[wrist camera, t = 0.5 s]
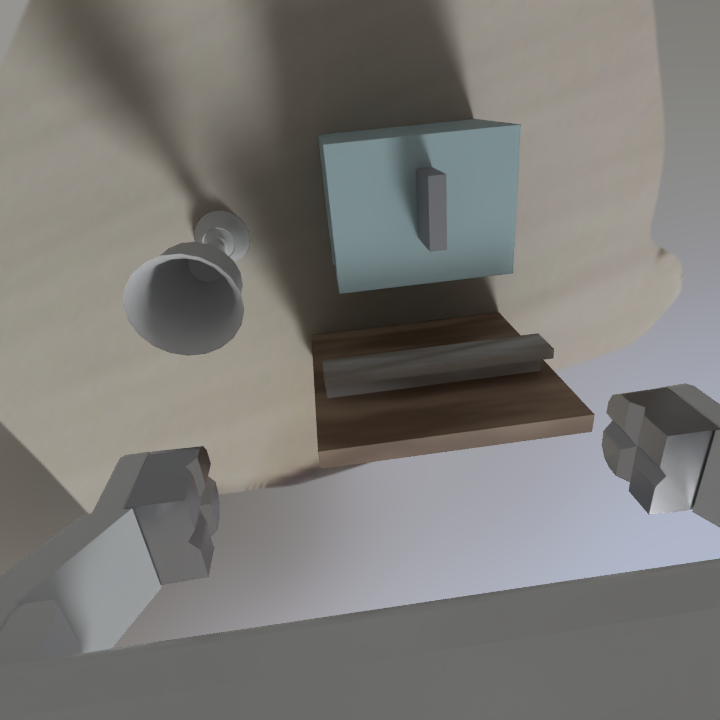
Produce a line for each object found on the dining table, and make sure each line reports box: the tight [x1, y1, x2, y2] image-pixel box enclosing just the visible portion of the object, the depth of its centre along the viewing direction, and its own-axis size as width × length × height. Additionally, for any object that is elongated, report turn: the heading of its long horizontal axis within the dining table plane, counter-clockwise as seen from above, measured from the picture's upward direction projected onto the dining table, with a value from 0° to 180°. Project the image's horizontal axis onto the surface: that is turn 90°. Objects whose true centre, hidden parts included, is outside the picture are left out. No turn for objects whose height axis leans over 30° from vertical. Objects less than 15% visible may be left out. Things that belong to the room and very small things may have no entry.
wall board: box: [312, 312, 594, 469], centre depth 46 cm, size 6×20×20 cm, turn 95°
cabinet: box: [318, 119, 521, 294], centre depth 42 cm, size 11×14×15 cm
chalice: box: [123, 211, 250, 355], centre depth 40 cm, size 7×7×18 cm
